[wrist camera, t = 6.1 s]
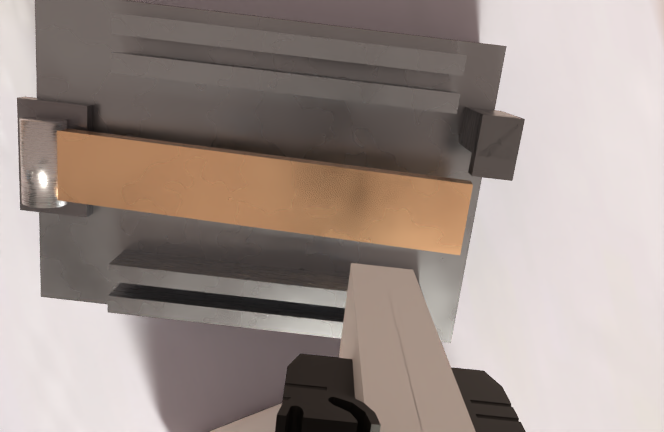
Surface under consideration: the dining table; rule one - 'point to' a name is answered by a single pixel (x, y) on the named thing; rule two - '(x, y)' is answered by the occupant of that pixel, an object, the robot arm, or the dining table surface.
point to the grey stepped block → (258, 137)
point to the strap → (240, 187)
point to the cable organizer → (254, 422)
